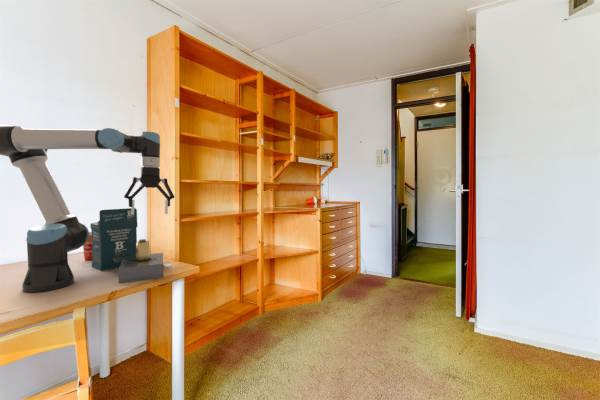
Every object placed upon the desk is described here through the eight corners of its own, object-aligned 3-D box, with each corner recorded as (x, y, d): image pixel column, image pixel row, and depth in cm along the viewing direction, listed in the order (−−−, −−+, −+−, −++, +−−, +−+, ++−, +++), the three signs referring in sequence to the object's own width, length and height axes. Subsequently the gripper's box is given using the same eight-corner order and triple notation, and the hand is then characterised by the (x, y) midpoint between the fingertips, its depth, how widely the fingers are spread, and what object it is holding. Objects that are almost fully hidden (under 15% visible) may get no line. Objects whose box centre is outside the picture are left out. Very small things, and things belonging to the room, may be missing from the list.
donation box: (101, 271, 132) (99, 210, 130) (88, 265, 141) (86, 208, 140) (138, 263, 144) (137, 207, 143) (124, 258, 154) (123, 206, 153)
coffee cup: (78, 260, 150) (77, 231, 150) (93, 256, 158) (92, 229, 157) (90, 261, 148) (89, 232, 147) (105, 257, 156) (104, 230, 155)
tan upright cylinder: (136, 271, 125) (135, 241, 125) (137, 267, 130) (136, 239, 130) (149, 269, 128) (148, 240, 127) (149, 266, 132) (149, 238, 132)
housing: (118, 283, 116) (118, 268, 115) (125, 268, 136) (124, 256, 135) (163, 277, 123) (162, 263, 122) (163, 265, 142) (162, 252, 142)
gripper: (118, 164, 120) (118, 215, 121) (181, 168, 135) (180, 213, 136) (117, 165, 126) (116, 214, 127) (177, 169, 141) (176, 212, 142)
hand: (149, 214), depth 131 cm, fingers open, 13 cm apart
